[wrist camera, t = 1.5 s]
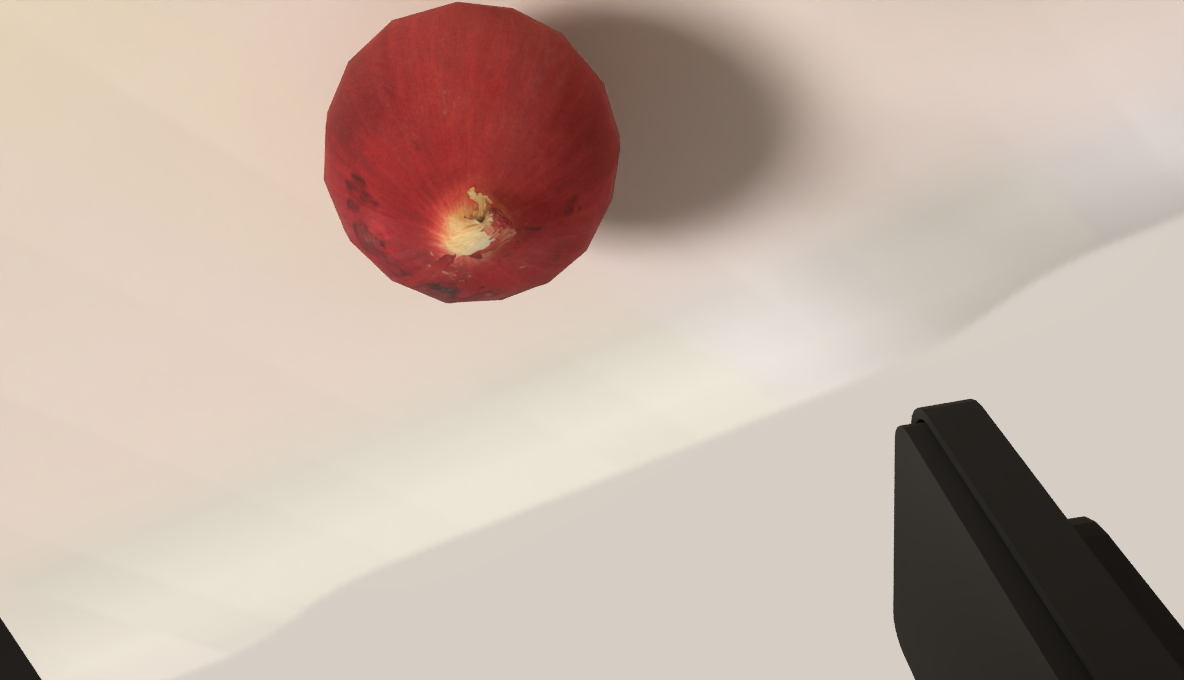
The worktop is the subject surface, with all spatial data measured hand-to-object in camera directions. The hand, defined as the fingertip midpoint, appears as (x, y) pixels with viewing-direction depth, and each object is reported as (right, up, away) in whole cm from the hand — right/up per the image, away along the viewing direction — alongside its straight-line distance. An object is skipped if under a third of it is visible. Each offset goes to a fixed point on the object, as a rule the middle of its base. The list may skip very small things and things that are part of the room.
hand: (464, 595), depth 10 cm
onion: (-1, +8, +13) cm, 15 cm away
